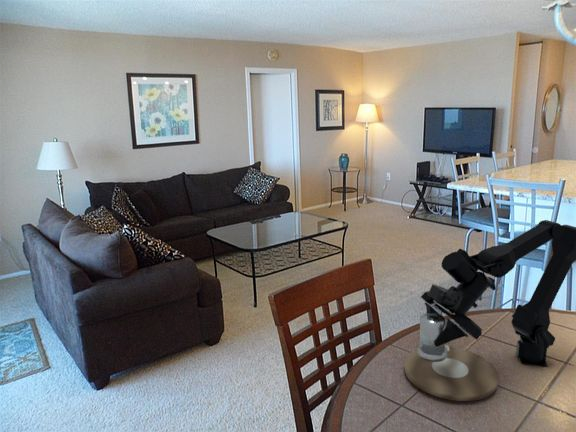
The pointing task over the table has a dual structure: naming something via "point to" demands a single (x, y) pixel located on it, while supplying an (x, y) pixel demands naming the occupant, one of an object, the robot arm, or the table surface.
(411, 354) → the turntable
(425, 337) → the cover
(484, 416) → the table surface
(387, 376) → the table surface
